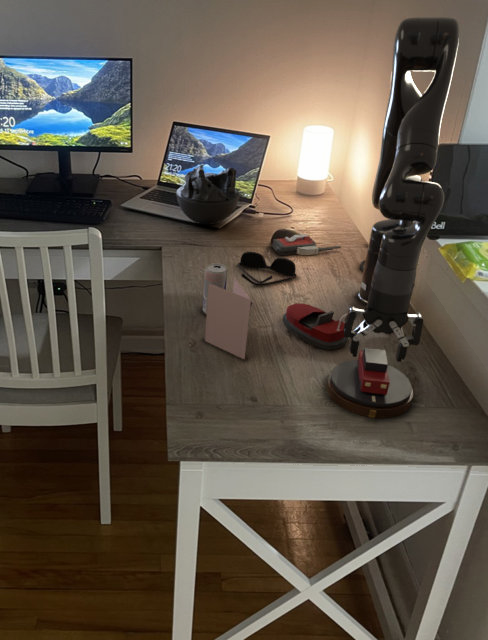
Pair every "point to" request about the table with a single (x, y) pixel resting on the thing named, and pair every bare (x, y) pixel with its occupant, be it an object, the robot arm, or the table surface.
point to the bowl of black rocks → (208, 195)
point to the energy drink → (214, 280)
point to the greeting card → (228, 318)
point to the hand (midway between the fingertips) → (375, 357)
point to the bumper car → (315, 326)
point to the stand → (366, 409)
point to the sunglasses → (266, 267)
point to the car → (371, 380)
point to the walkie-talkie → (298, 245)
